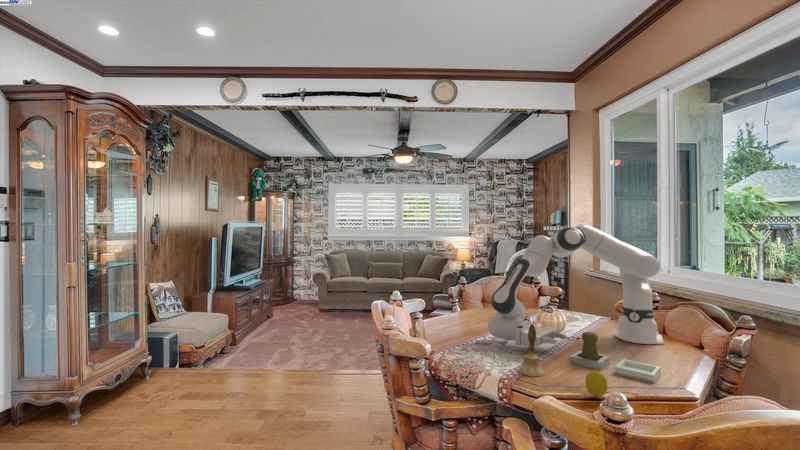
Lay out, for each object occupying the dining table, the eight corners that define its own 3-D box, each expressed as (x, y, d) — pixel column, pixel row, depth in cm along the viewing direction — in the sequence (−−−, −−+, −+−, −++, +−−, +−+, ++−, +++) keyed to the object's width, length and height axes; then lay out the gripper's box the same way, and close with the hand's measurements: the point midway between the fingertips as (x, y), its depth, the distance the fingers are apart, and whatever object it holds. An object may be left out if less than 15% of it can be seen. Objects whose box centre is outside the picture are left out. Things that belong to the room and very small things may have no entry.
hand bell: (541, 369, 131) (542, 322, 132) (546, 378, 123) (546, 328, 123) (516, 367, 133) (517, 321, 133) (519, 376, 125) (520, 326, 125)
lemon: (593, 402, 105) (594, 373, 105) (581, 394, 111) (581, 366, 111) (612, 401, 106) (612, 372, 106) (598, 393, 112) (598, 365, 112)
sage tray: (623, 366, 135) (623, 358, 135) (660, 374, 128) (660, 366, 128) (614, 374, 127) (614, 366, 127) (653, 383, 120) (653, 375, 120)
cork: (601, 366, 134) (601, 335, 134) (583, 365, 135) (583, 334, 136) (596, 361, 140) (596, 331, 140) (578, 359, 141) (578, 330, 141)
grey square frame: (579, 356, 145) (579, 350, 145) (609, 363, 138) (609, 356, 138) (570, 363, 138) (570, 356, 138) (600, 370, 130) (600, 363, 131)
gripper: (536, 335, 162) (570, 342, 152) (513, 345, 147) (549, 353, 138) (536, 320, 162) (570, 326, 152) (513, 328, 147) (549, 335, 138)
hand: (560, 339), depth 145 cm, fingers open, 8 cm apart
